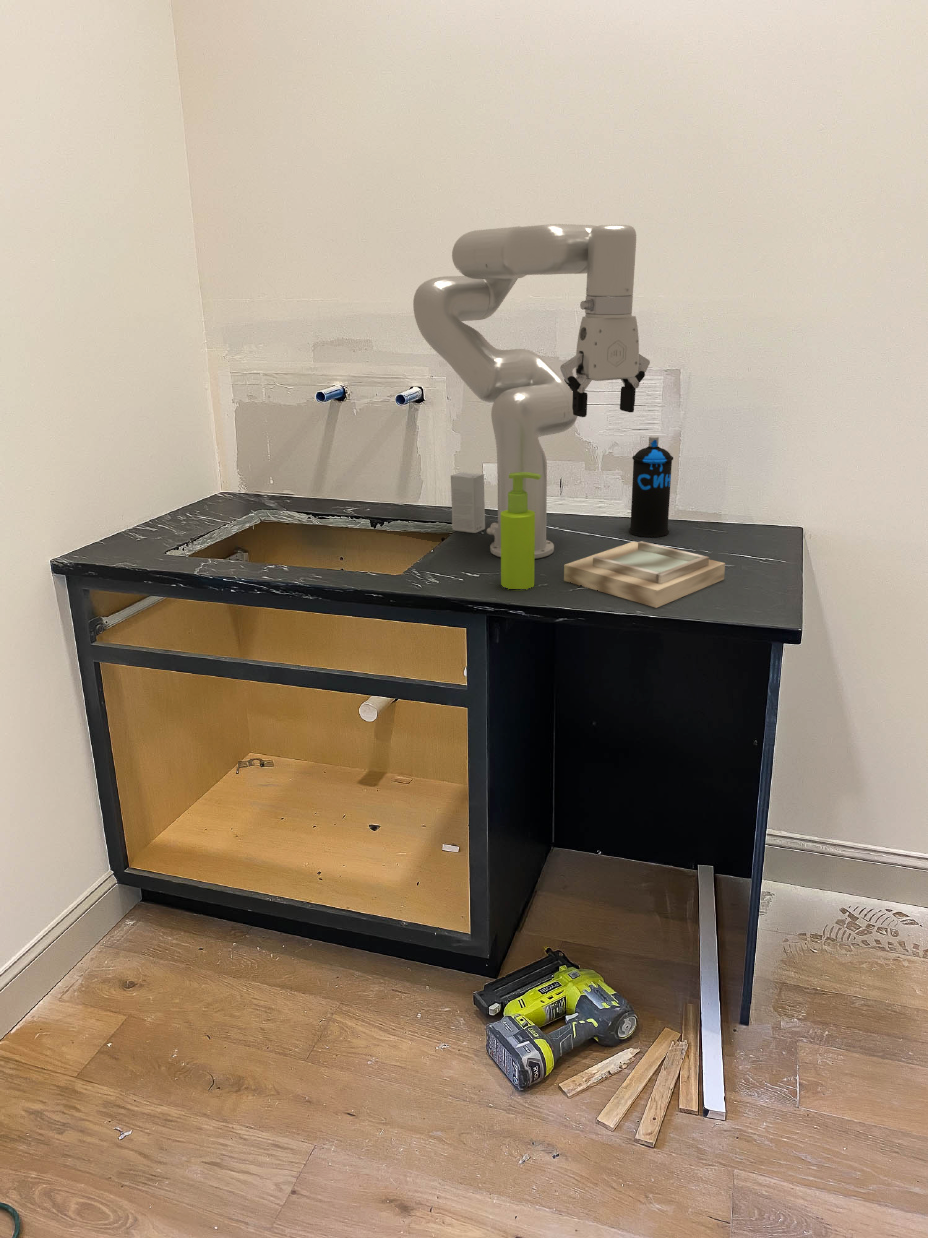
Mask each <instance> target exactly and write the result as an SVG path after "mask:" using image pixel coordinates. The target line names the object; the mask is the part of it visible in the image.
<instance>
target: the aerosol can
mask: <svg viewBox="0 0 928 1238" xmlns="http://www.w3.org/2000/svg"><path fill="white" fill-rule="evenodd" d="M659 437H660V436H658V435H650V436H648V446H646V447H644V448H641V449H640V450H638V451H637V452H636V453H635V454H634V455H632V460H633V462H632V463H633V464H632V465H633V466H632V483H631V485H632V489H631V506H630V508H631V509H630V510H631V511H630V528H629V530H628V531H629V533H630V534H631V535H632V536H636V537H641V538H659V537H660V538H661V537H665V536H667V535H668V534H669V533H670V531H669V513H670V499H671V498H670V497H671V480H672V479H671V478H672V464H673V463H672V462H673V460H674V457H673V456H672V455H671V453H670V452H669V451H668V450H666V449H665V448H661V447H660V446H659V441H660V438H659ZM664 535H665V536H664Z"/></svg>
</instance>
